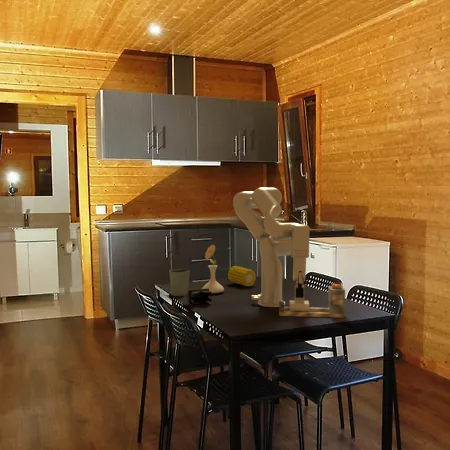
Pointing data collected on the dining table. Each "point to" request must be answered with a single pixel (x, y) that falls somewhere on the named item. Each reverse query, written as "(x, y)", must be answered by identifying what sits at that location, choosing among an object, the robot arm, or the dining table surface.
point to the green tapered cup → (179, 282)
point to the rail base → (334, 308)
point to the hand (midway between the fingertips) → (299, 295)
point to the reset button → (336, 286)
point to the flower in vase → (212, 273)
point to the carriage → (299, 303)
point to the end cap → (199, 297)
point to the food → (241, 276)
